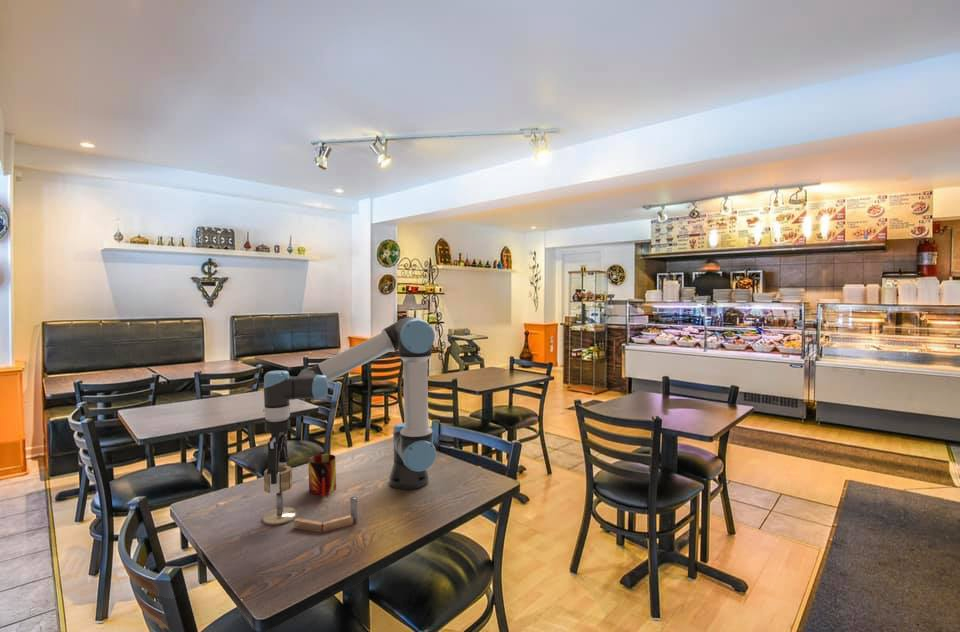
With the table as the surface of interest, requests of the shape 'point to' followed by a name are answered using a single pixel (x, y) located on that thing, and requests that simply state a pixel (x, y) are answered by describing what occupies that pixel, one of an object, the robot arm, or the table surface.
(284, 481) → the oak ring
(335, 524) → the bent hammer
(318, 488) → the mug
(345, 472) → the table surface
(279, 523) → the peg stand
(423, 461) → the robot arm
